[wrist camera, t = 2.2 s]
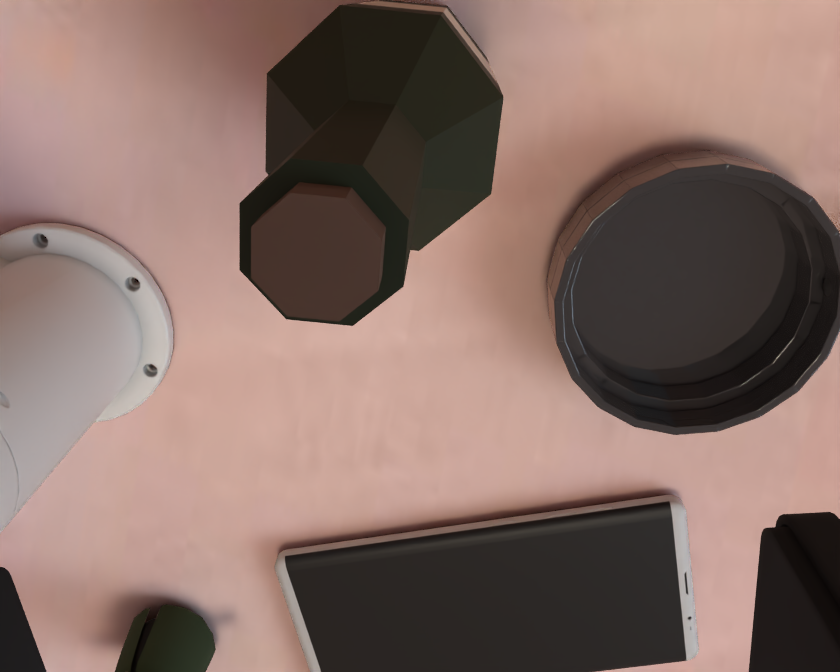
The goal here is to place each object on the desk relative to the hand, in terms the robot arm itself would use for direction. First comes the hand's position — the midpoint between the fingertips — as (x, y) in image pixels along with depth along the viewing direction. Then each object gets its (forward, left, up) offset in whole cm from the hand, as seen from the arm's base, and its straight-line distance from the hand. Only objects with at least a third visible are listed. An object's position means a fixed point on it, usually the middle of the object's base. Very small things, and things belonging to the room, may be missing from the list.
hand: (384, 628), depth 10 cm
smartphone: (+17, -26, -36) cm, 48 cm away
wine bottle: (-3, +2, -36) cm, 36 cm away
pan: (+16, -1, -36) cm, 39 cm away
